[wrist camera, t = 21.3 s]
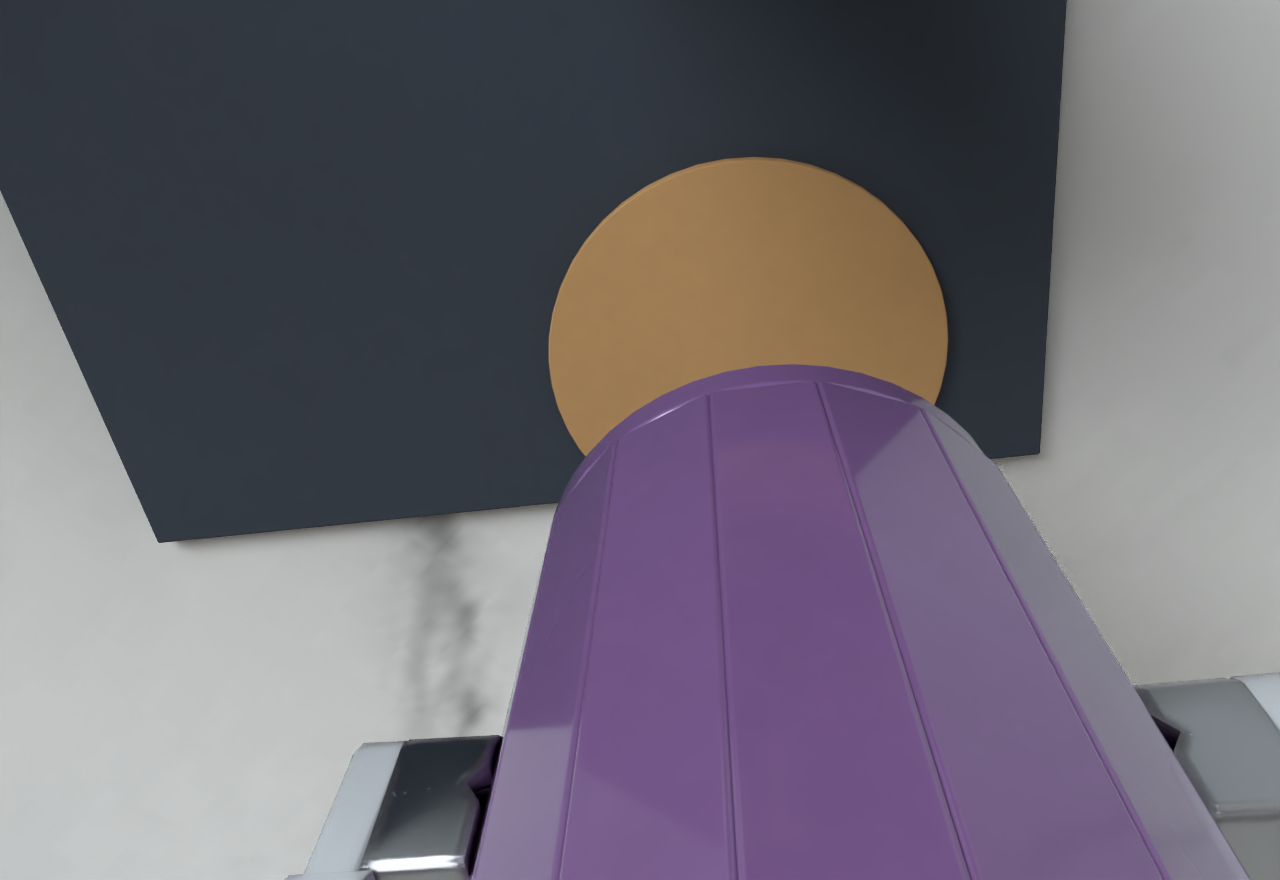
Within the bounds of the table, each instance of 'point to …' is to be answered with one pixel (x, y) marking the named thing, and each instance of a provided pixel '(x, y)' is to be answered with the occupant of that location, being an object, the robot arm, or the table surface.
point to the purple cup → (820, 664)
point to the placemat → (516, 227)
